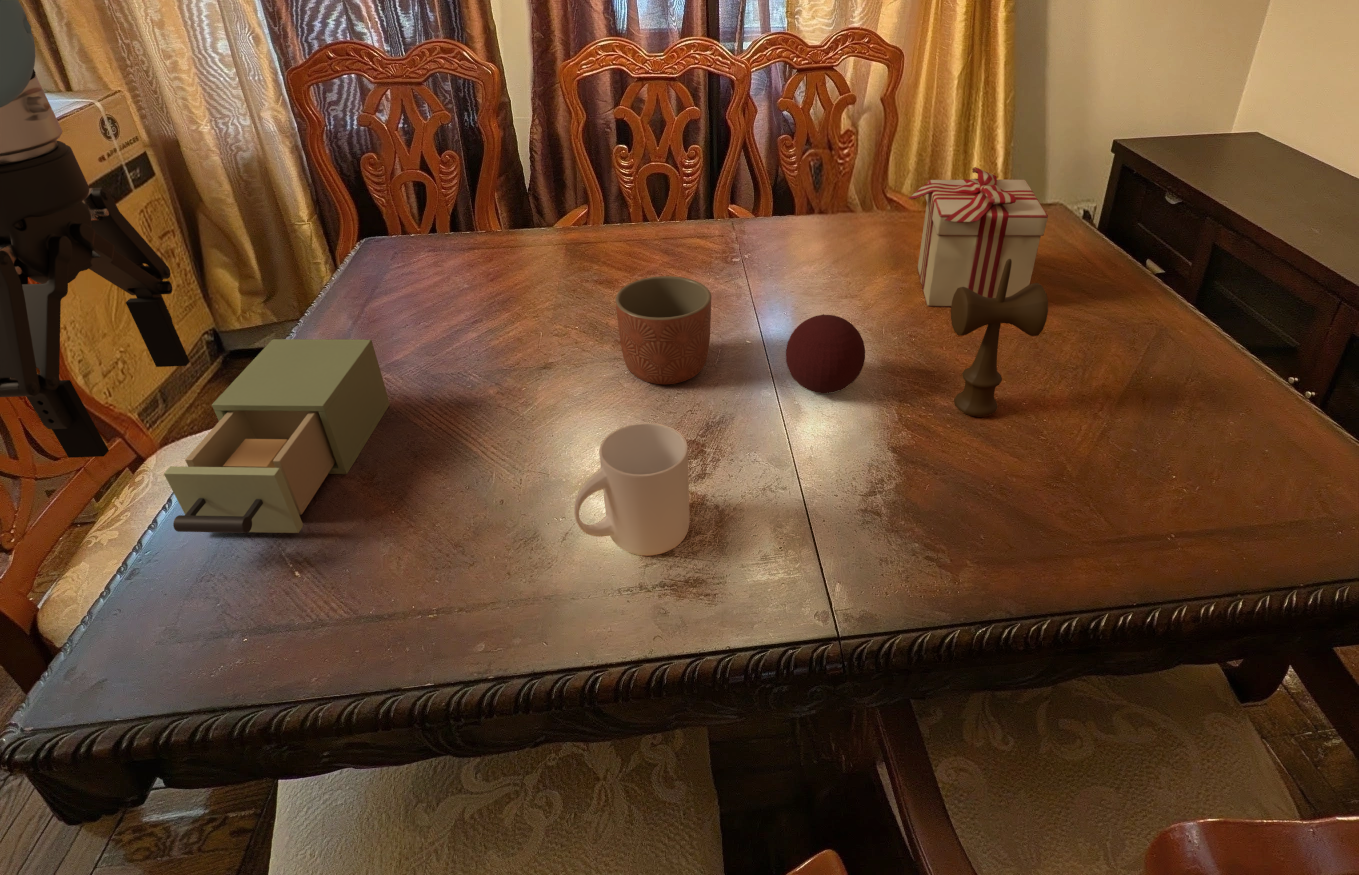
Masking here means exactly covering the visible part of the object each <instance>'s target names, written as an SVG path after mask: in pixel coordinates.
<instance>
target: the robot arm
mask: <svg viewBox="0 0 1359 875" xmlns="http://www.w3.org/2000/svg"><path fill="white" fill-rule="evenodd" d="M35 64H36V44H35V38H34V35H33V32H32V26H31V24H30V23H29V21H28V18H27V14H26V12H25V10H24V7H23V5H22V4H21V2H20V1H19V0H0V398H17V397H26V399H27V400H28V401H29V403H30V405H31V407H32V408H33V410H34V412H35V413H36V414H37V417H38V419H39V420H40V422H41V424H42V425H43V426H44V427H45V428H47V429H48V430H52V432H53V434H54V436H55V437H56V439H57V441H58V442H59V444H60V446H61V447H62V449H63V451H64V452H65V454H66V456H67V458H69V459H72V458H101V457H105V456H106V455H107V454H108V453H109V451H110V449H109V447H108V446H107V444H106V442H105V441H104V439H103V437H102V435H101V433H100V432H99V430H98V428H97V426H96V424H95V422H94V421H93V419H92V417H91V415H90V413H89V412H88V410H87V407H85V404H84V403H83V401H82V400H81V397H80V396H79V394H78V392H77V390H76V388H75V387H74V384H73V383H72V381H71V379H60V362H61V361H60V359H61V308H62V307H61V305H62V304H61V303H62V299H64V298H65V297H66V296H67V295H68V292H69V284H70V283H71V282H73V281H75V279H76V278H77V277H78V275H79V274H80V272H85V271H88V270H90V271H92V272H93V273H95V274H96V275H98V276H100V278H103V279H104V280H106V281H107V282H109V283H111V284H112V285H114V286H116V287H118V288H119V289H120V290H122V291H124V292H126V293H127V294H128V295H130V296H135V297H131V298H128V300H126V301H125V304H126V307H127V308H128V309H127V310H129V313H130V315H131V318H132V319H133V321H134V323H135V326H136V327H137V330H138V332H139V334H140V337H141V338H142V340H143V342H144V344H145V346H146V348H147V350H148V353H149V355H150V357H151V360H152V362H153V363H154V365H155V367H156V368H164V367H165V368H166V367H168V368H169V367H187V366H188V364H189V363H190V362H191V361H190V359H189V357H188V354H187V352H186V349H185V347H184V345H183V343H182V340H181V338H180V336H179V335H178V331H177V330H176V327H175V325H174V322H173V318H172V315H171V313H170V311H169V309H168V306H167V304H166V301H165V300H164V297H163V295H170V294H172V293H173V284H172V282H171V281H169V280H168V279H170V278H171V274H172V272H171V269H170V267H169V266H168V265H167V264H166V262H165V261H164V259H162V258H161V256H159V254H158V253H157V252H156V251H155V250H154V248H152V246H151V245H150V244H149V243H148V242H147V241H146V240H145V239H144V238H143V236H142V235H141V234H140V233H139V232H138V231H137V230H136V228H135V227H134V226H133V225H132V224H131V222H130V221H129V220H128V219H127V218H126V217H125V216H124V215H123V214H122V212H120V210H119V207H118V206H117V204H116V202H115V200H114V198H113V196H112V195H111V192H110V190H108V189H107V188H106V187H90V186H89V184H88V182H87V179H86V177H85V175H84V173H83V171H82V169H81V167H80V164H79V162H78V160H77V158H76V156H75V153H74V151H73V149H72V147H71V146H70V145H67V144H66V143H65V142H63V141H62V140H61V141H60V140H59V139H60V137H61V136H62V134H63V129H62V127H61V125H60V123H59V120H58V118H57V116H56V114H55V112H54V109H53V108H52V106H51V104H50V101H49V100H48V98H47V96H46V93H45V91H44V89H43V87H42V85H41V83H40V80H39V79H38V76H37V74H36V70H35V69H34V68H35ZM29 279H30V280H32V281H34V282H36V283H29ZM38 370H39V373H38Z"/></svg>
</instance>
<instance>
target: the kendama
mask: <svg viewBox="0 0 1359 875" xmlns="http://www.w3.org/2000/svg"><path fill="white" fill-rule="evenodd" d="M1011 264H1012V261H1011V259H1008V260H1007V261H1006V263H1005V266H1004V270H1003V273H1002V277H1001V280H1000V284H999V288H998V291H997V295H996V298H988V297H984V296H981V295H979V294H977V293H975V292H974V291H972V290H970V289H968V288H966V287H960V288H957V290H956V292H955V294H954V296H953V300H952V305H951V307H950V321H951V327H952V329H953V332H954V333H955V334H956V335H957V336H959V337H962V336H966V335H969V334H971V333H973V332H974V331H977V330H978V329H980V328H982V327H984V326H986V329H985V331H984V335H983V338H982V340H981V343H980V346H979V348H978V351H977V353H976V356H975V358H974V360H973V362H972V364H971V365H970V366H969V367H967V368H965V369H963V371H962V373H961V374H962V379H963V380H964V387H963V390H962V391H960V392H959V393H957V394H956V396H955V397H954V399H953V401H954V406H955V407H956V409H957V410H958V411H960V412H961V413H963V414H964V415H968V416H971V417H979V418H983V417H988V416H991V415H993V414H996V412H997V410H998V408H999V405H998V401H997V400H996V398H995V391H996V388H997V387H998V386H1000V385H1001V382H1002V381H1003V378H1002V375H1001V373H1000V372H999V371H998V349H999V339H1000V332H1001V331H1000V330H1001V325H1002V324H1006V325H1008V324H1009V325H1012V326H1014V327H1015V328H1017V329H1019V330H1021V331H1022V332H1023V333H1024V334H1027V335H1028V336H1030V337H1038V336H1039V335H1041V333H1042V332H1043V330H1044V329H1045V326H1046V323H1047V321H1048V320H1047V319H1048V314H1049V300H1048V295H1047V292H1046V290H1045V288H1044V286H1043V285H1042V284H1040V283H1039V282H1034V283H1030V285H1028V286H1026V287H1025V288H1023V289H1022V290H1020V291H1019V292H1017V293H1015V294H1014V295H1012V296H1009V297H1006V292H1007V287H1008V282H1009V277H1010V271H1011Z"/></svg>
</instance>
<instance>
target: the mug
mask: <svg viewBox="0 0 1359 875" xmlns="http://www.w3.org/2000/svg"><path fill="white" fill-rule="evenodd" d="M598 454H599V456H598V457H599V462H600V463H599V464H600V468H599V469H598V470H597V471H596V472H594V473H593V474H592V475H591V476H590V477H589V478H587V480H586V481H585V482H584V483H583V484H582V486H581V487H580V489H579V491H578V492H577V495H576V497H575V500H574V505H573V513H574V514H573V515H574V518H575V522H576V524H577V526H578V527H579V529H580V530H581V531H582V532H583V533H585V534H586V535H588V536H591V537H596V538H597V537H599V538H600V537H601V538H602V537H610V539H611V541H612V542H613V543H614V544H615V545H616V546H617V547H618V548H620V549H621V550H623V551H625V552H627V553H629V554H632V555H635V556H636V555H637V556H657V555H661V554H665V553H667V552H670V551H671V550H673V549H675V548H676V547H678V546H679V545H680V544H681V543H682V542H683V541H684V539H685V538H686V536H687V534H688V532H689V529H690V523H691V522H690V519H691V518H690V480H689V477H690V476H689V474H690V473H689V446H688V441H687V439H686V438H685V437H684V436H683V434H682V433H681V432H679V431H678V430H677V429H675V428H673V427H671V426H669V425H666V424H661V423H657V422H638V423H631V424H627V425H624V426H621V427H619V428H617V429H615V430H613V431H611V432H610V433H609V434H607V435H606V436H605V437H604V439H603V440H602V442H601V443H600V445H599V449H598ZM601 490H602V491H603V492H602V493H603V501H604V511H605V516H604V517H603V518H601V520H599V521H598V522H595V523H593V524H586V523H584V522H583V521H582V519H581V517H580V510H581V506H582V505H583V503H584V502H585V500H586V499H587V498H589V497H590V496H591V495H593V494H594V493H596V492H598V491H601Z"/></svg>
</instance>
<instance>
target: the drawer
mask: <svg viewBox="0 0 1359 875" xmlns="http://www.w3.org/2000/svg"><path fill="white" fill-rule="evenodd" d="M245 439H287V440H288V441H287V442H286V444H285V445H284V446H283V448H282V449H281V450H280V452H279V453H278V454H277V456H276V457H275V458H274V460H273V463H274V465H275V468H254V467H223V465H224V464H225V463H226V461H227V460H228V459H229V458H230V457H231V455H232V454H233V453H234V452H235V451H236V449H237V448H238V447H239V446H240V445H241V443H242V442H243V441H244V440H245ZM184 461H185V463H186V465H187V466H178V465H177V466H172V465H170V466H169V467H168V468H167V469H166V470H165V471H164V473H163V476H164V478H165V479H166V481H167V484H168V485H169V486H170V489H171V491H172V493H173V495H174V496H175V498H176V500H177V503H178V504H179V506H180V509H181V510H182V512H183V514H182V515H181V514H180V515H177V516H176V517H174V519H173V529H174V531H176V532H177V533H222V534H223V533H227V534H228V533H230V534H232V533H233V534H247V533H271V534H272V533H275V534H278V533H279V534H280V533H281V534H299V533H300V531H301V530H302V529H303V527H304V523H303V520H302V519H301V516H302V515H303V514H304V512H305V510H306V509H307V507H309V506H308V505H309V504H310V503H311V501H312V500H313V498H314V497H315V495H316V493H317V492H318V490H319V488H320V487H321V486H322V484H323V483H324V481H325V479H326V478H327V477H328V475H329V474H328V473H329V471H330V470H331V468H332V467H333V465H334V464H335V462H336V460H335V457H334V454H333V451H332V448H331V445H330V443H329V440H328V437H327V434H326V431H325V429H324V426H323V423H322V420H321V417H320V414H319V411H228V412H227V413H226V414H225V415H224V417H223V418H222V419H221V420H220V421H219V420H218V422H217V423H216V424H215V425H214V426H213V428H212V429H211V430H210V431H209V432H208V433H207V434H206V436H204V438H203V439H201V441H200V442H199V443H198V445H197V446H195V448H194V449H193V450H192V451H191V452H190V453H189V454H188V456H187V457H186V458H185V460H184Z"/></svg>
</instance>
